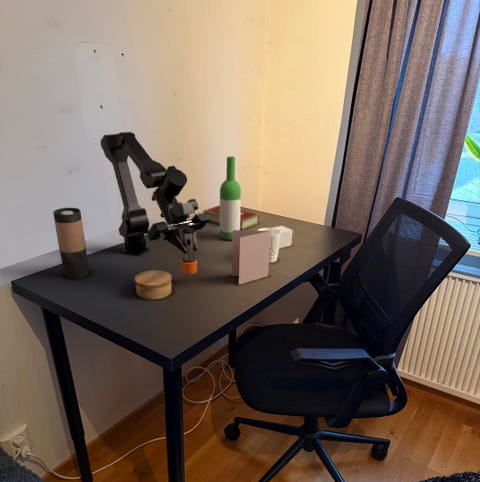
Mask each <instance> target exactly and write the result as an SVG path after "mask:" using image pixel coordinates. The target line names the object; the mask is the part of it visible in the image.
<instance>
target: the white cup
mask: <svg viewBox="0 0 480 482" xmlns="http://www.w3.org/2000/svg"><path fill="white" fill-rule="evenodd" d="M257 231H271V234H270V250H269V264H272V263H275V262H277V261H278V255H279V251H280V248H279V244H280V236H281V231H279V230H277V229H274V227H262V228H258V229H257Z"/></svg>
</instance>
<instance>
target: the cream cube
mask: <svg viewBox="0 0 480 482" xmlns="http://www.w3.org/2000/svg"><path fill="white" fill-rule="evenodd" d="M273 228H274V229H277V230H279V231H281V236H280V244H279V249H282V248H286V247H290V246H292V245H293V244H292V242H293V232H294V231H293V229H291V228H289V227H286V226H285V225H279V226H274V227H273Z"/></svg>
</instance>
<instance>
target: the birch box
mask: <svg viewBox="0 0 480 482" xmlns="http://www.w3.org/2000/svg"><path fill="white" fill-rule="evenodd" d="M172 281H173V279H172V275H171V274H170V273H169V272H167V271H165V270H158V269H154V270H153V269H152V270H145V271H142V272H139V273H138V274H136V275H135V276H134V282H135V290H136V294H137V296H138V297H139V298H141V299H145V300H160V299H164V298H166V297H168V296H170V295H171V294H172V290H173V289H172Z"/></svg>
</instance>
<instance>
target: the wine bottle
mask: <svg viewBox="0 0 480 482" xmlns="http://www.w3.org/2000/svg"><path fill="white" fill-rule="evenodd" d="M241 197H242V189H241V186H240V184H239V182H238V181H237V180H236V157H235V156H232V155H231V156H227V157H226V178H225V180H224V181H223V182H222V183H221V185H220V188H219V205H220V224H219V237H220V238H221V239H222V240H225V241H233V230H240V210H241V203H242V202H241V201H242V200H241V199H242V198H241Z"/></svg>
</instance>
